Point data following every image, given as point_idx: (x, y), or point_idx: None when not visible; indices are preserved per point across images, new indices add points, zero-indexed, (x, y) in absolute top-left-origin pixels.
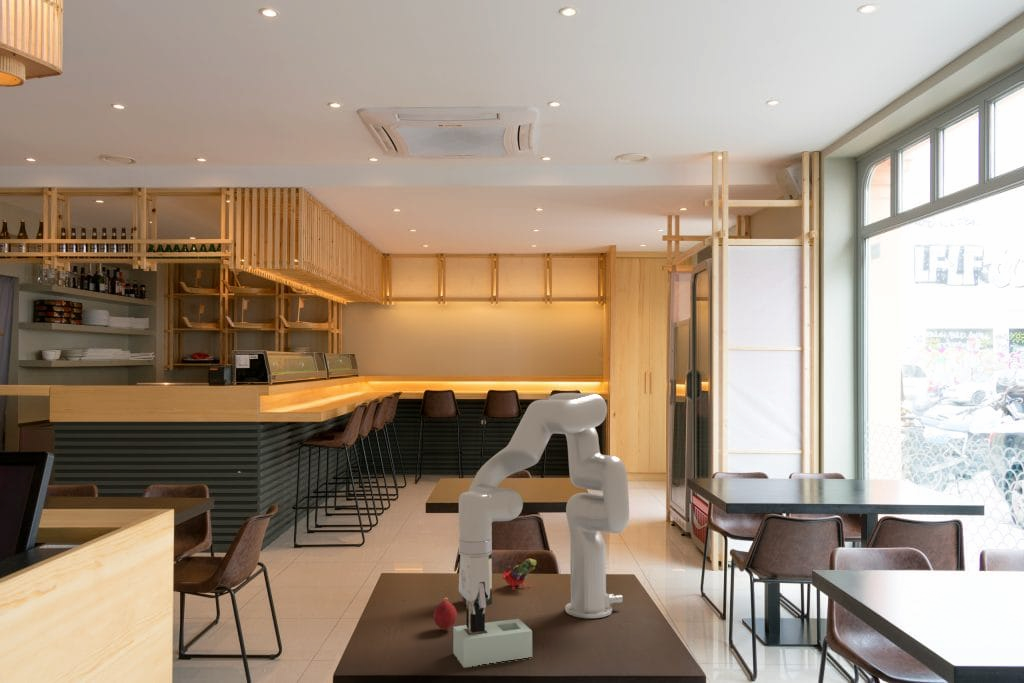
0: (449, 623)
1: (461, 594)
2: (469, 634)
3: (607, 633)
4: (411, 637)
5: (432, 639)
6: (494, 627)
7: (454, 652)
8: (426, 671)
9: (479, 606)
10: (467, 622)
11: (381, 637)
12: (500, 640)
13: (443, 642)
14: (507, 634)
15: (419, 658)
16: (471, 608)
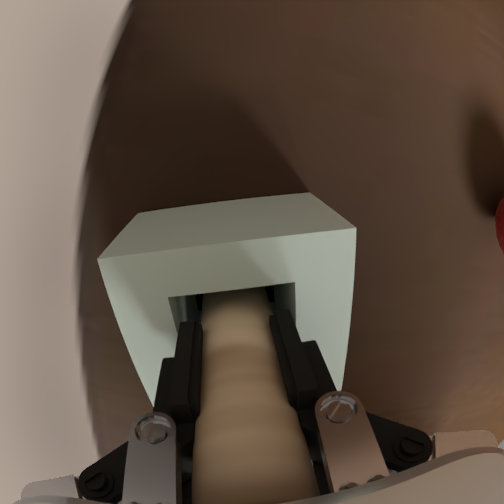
0: (499, 229)
1: (369, 494)
2: (226, 301)
3: None
4: (485, 89)
5: (459, 148)
6: None
7: (292, 196)
8: (136, 58)
9: (56, 491)
10: (281, 330)
11: (490, 14)
12: None
13: (426, 178)
14: None
15: (292, 44)
16: (204, 444)
